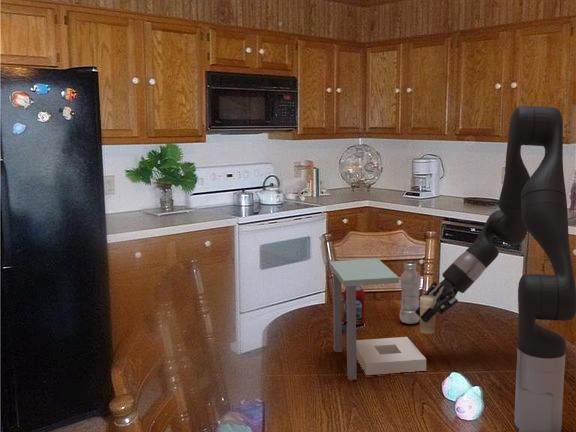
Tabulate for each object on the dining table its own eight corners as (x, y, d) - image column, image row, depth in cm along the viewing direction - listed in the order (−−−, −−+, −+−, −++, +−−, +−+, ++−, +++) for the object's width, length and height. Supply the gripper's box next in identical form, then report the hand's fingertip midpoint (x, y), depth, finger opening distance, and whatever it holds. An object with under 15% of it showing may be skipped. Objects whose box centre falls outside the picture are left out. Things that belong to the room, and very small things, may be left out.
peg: (432, 334, 157) (432, 300, 155) (417, 332, 159) (418, 298, 157) (436, 329, 160) (436, 296, 159) (422, 327, 162) (422, 294, 161)
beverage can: (340, 325, 188) (340, 289, 186) (348, 318, 194) (348, 283, 192) (360, 328, 185) (360, 291, 183) (367, 321, 191) (367, 286, 189)
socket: (406, 348, 168) (406, 336, 167) (426, 371, 152) (426, 359, 152) (352, 352, 166) (352, 340, 166) (366, 376, 151) (366, 363, 150)
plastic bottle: (395, 321, 190) (395, 261, 187) (412, 318, 193) (412, 259, 190) (407, 327, 184) (407, 266, 181) (424, 324, 187) (425, 263, 184)
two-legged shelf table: (377, 347, 169) (377, 258, 165) (398, 377, 149) (399, 277, 145) (330, 351, 168) (329, 261, 163) (345, 381, 148) (343, 280, 144)
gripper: (444, 256, 164) (402, 300, 165) (465, 269, 150) (419, 317, 151) (462, 274, 165) (420, 317, 166) (484, 288, 152) (438, 335, 152)
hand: (420, 317), depth 158 cm, fingers closed on peg, 4 cm apart
